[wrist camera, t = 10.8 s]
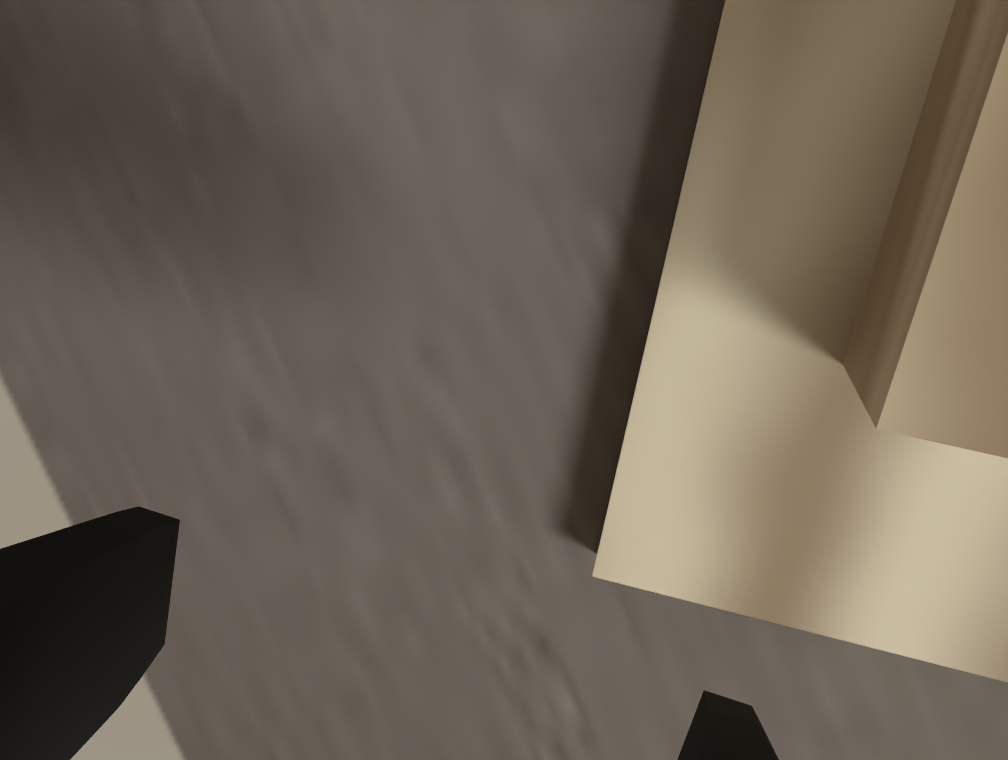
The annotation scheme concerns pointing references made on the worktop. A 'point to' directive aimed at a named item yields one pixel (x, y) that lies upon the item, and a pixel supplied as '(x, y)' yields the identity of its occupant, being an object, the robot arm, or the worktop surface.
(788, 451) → the tool board
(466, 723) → the worktop surface
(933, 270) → the turner
